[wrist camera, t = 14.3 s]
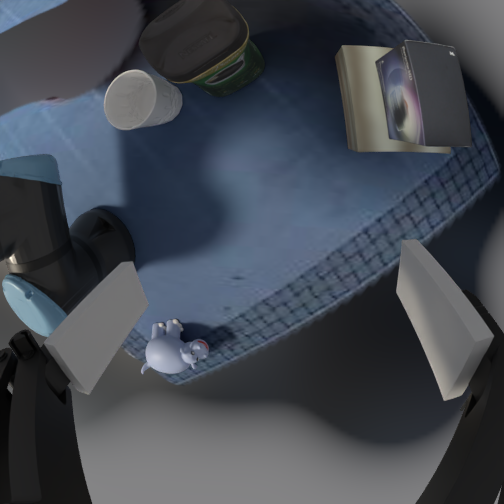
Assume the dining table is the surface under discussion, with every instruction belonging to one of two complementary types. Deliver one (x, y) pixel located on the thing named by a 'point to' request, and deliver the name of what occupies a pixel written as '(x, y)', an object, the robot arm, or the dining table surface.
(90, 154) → the dining table surface
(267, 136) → the dining table surface
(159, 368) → the hippopotamus toy
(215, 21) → the coffee jar
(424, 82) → the small box
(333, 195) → the dining table surface
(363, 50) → the plinth
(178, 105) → the white cup
